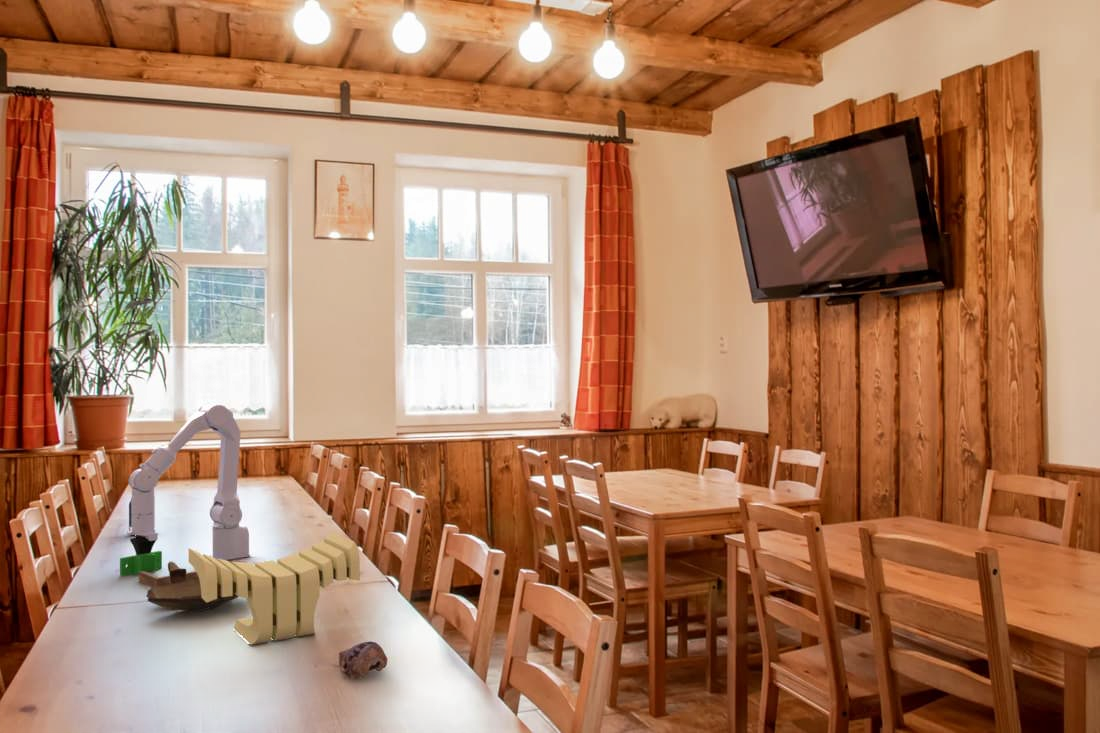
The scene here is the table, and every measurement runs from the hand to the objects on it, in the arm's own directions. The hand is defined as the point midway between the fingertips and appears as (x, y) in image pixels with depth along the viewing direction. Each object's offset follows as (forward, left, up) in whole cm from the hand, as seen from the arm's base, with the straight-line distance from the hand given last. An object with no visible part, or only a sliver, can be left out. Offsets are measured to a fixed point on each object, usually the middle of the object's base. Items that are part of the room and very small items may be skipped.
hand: (143, 564), depth 238 cm
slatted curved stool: (+4, +80, -2) cm, 80 cm away
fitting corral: (-3, +19, -1) cm, 19 cm away
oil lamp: (+5, +47, -2) cm, 47 cm away
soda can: (-19, -52, -2) cm, 56 cm away
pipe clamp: (+1, +4, -2) cm, 4 cm away
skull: (+5, +112, -2) cm, 112 cm away
